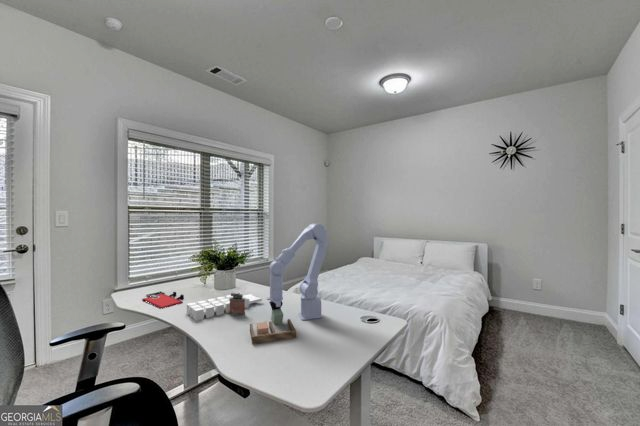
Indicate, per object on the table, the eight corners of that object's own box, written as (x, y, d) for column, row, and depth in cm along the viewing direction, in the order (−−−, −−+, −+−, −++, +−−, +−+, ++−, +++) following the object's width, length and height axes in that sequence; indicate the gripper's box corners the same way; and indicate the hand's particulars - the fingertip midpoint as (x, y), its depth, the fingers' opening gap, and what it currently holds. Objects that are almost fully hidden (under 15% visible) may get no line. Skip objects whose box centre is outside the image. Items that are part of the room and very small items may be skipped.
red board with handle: (163, 292, 173) (136, 298, 161) (163, 287, 173) (136, 293, 161) (189, 302, 155) (161, 310, 143) (189, 297, 155) (160, 304, 143)
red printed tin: (246, 313, 136) (246, 293, 136) (242, 316, 133) (242, 295, 133) (231, 311, 139) (231, 291, 138) (227, 314, 135) (227, 293, 135)
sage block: (279, 318, 128) (280, 308, 127) (282, 323, 125) (283, 314, 123) (271, 319, 126) (272, 310, 125) (273, 325, 123) (274, 315, 122)
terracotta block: (266, 332, 115) (266, 322, 115) (268, 339, 109) (268, 327, 109) (256, 334, 114) (256, 323, 114) (258, 340, 108) (258, 329, 108)
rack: (289, 324, 123) (289, 318, 123) (296, 338, 110) (296, 330, 110) (249, 330, 117) (249, 323, 117) (252, 344, 105) (252, 336, 105)
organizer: (186, 303, 137) (251, 290, 161) (186, 313, 137) (251, 298, 161) (195, 310, 127) (263, 295, 151) (195, 321, 127) (263, 304, 151)
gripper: (265, 284, 133) (264, 312, 133) (269, 292, 119) (268, 324, 119) (280, 283, 135) (279, 311, 135) (285, 291, 121) (285, 323, 121)
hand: (275, 317), depth 127 cm, fingers closed, pressing on sage block
